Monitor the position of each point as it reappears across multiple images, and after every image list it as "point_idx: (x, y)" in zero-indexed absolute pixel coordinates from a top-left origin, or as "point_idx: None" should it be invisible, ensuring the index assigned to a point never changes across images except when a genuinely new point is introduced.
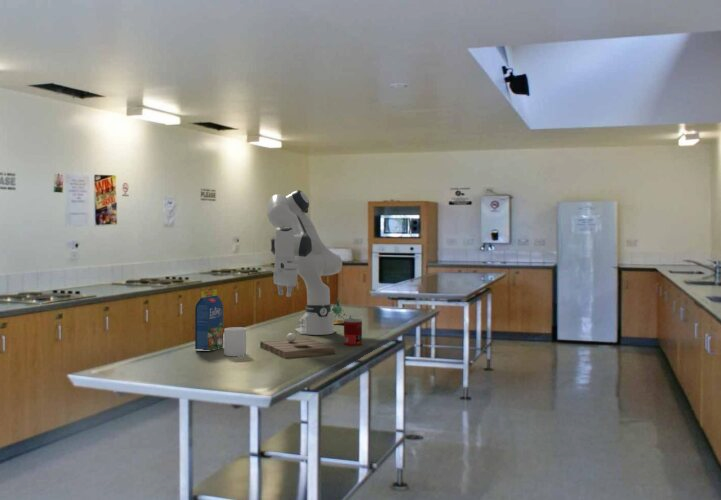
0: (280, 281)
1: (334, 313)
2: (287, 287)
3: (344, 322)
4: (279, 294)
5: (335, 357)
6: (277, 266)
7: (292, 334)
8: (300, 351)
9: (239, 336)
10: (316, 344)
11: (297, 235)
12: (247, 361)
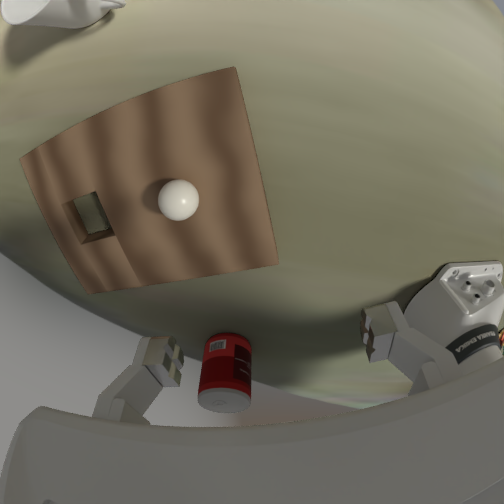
0: (279, 473)
1: (502, 354)
2: (105, 410)
3: (220, 385)
4: (372, 307)
5: (54, 273)
6: None
7: (162, 210)
8: (40, 204)
9: (17, 13)
10: (132, 265)
11: None
12: (6, 60)
